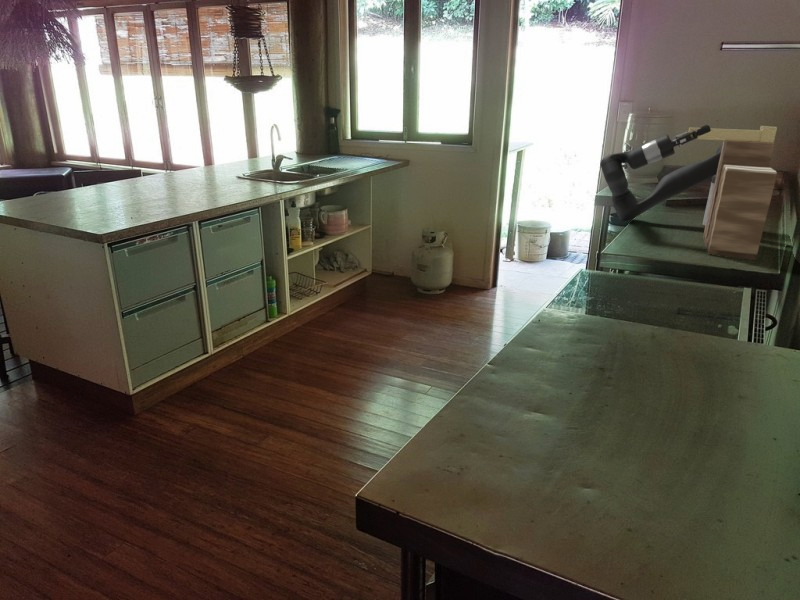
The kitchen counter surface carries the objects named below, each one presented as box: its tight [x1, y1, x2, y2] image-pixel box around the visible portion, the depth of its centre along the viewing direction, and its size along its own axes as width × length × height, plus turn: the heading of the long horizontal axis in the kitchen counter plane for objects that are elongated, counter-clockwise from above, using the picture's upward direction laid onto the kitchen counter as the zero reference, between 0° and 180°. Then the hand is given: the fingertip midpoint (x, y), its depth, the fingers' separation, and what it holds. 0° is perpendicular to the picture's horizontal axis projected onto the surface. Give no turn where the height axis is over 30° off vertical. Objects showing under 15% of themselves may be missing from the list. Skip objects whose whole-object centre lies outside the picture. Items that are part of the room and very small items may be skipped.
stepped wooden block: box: [702, 140, 778, 261], centre depth 195 cm, size 26×14×36 cm, turn 157°
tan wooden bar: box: [687, 125, 778, 143], centre depth 196 cm, size 5×26×5 cm, turn 69°
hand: (708, 127), depth 198 cm, fingers closed on tan wooden bar, 3 cm apart
